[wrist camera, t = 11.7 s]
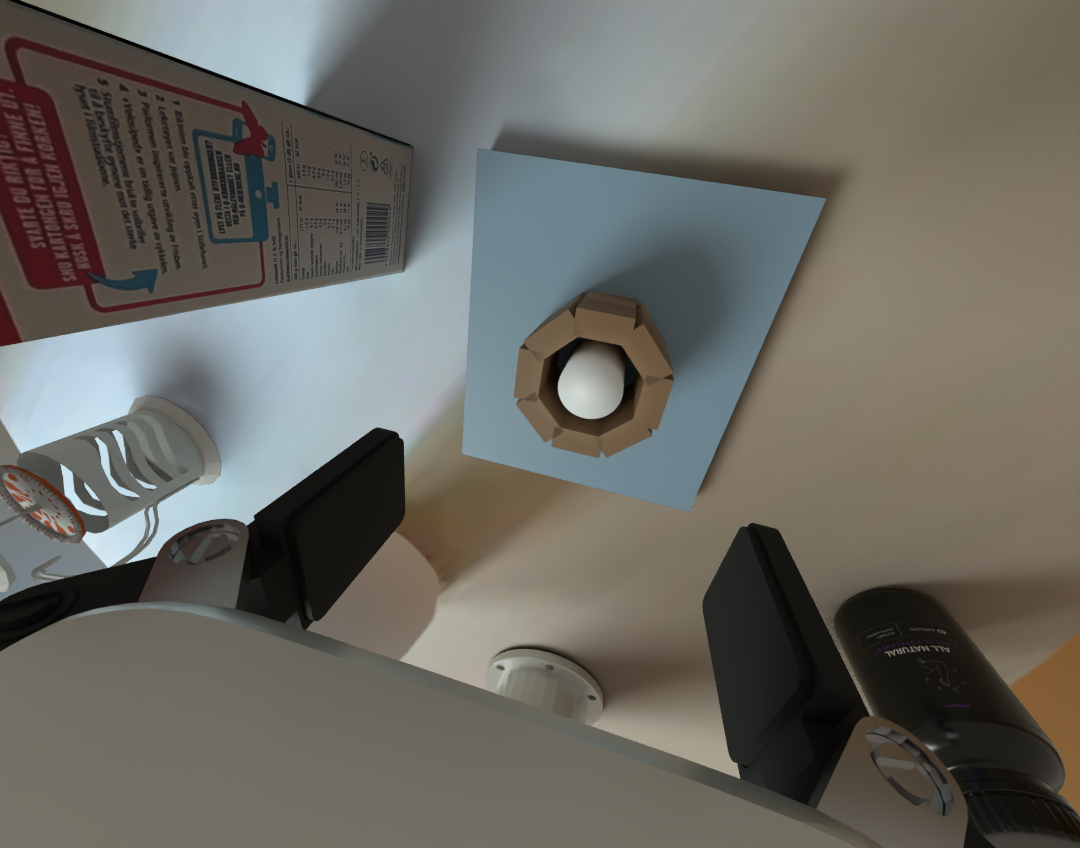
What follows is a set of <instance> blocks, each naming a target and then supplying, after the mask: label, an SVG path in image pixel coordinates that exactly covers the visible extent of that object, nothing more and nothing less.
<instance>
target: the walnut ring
mask: <svg viewBox="0 0 1080 848" xmlns="http://www.w3.org/2000/svg"><path fill="white" fill-rule="evenodd" d="M577 337H582V338H587V339H592V340H597V341H602V342H607V343H611V344H616V345H621V346H622V347H623V348H624V350H625V352H626V353H627V355H628V356H629V358H630V359H631V361H632V362H633V364H634V366H635V367H636V369H637V373H636V377H635V380H634V382H632V383H630V384H629V385H627V386H625V387H624V389H623V396H622V399H621V402H620V404H619V405H618V407H617V408H616V409H615V410H614V411H613V412H612V413H610V414H608V415H607V416H604V417H601V418H597V419H586V418H582V417H579V416H576V415H574V414H573V413H571V412H570V411H569V410H568V409H567V408H566V407H565V406H564V405H563V403H562V402H561V399H560V397H559V393H558V382H559V378H560V376H561V374H562V371H561V370H560V368H559V367H558V365H557V362H558V356H559V351H560V348H562V347H563V346H565V345H566V344H568V343H569V342H571V341H572V340H574V339H575V338H577ZM523 342H524V344H523V345H522V346H521V347H520V348H519V354H518V363H517V371H516V380H515V388H514V396H513V397H514V398H519V400H518V401H517V403H516V406H517V407H518V408H519V409H520V411H521V412H522V413H523V415H524V416H525V417H526V419H527V420H528V421H529V423H530V424H531V425H532V427H533V428H534V429H535V431H536V432H537V433H538V434H539V436H540V437H541V438H542V440H543V441H544V442H547V441H549V440H551V439H552V443H551V447H554V448H558V449H562V450H567V451H571V452H575V453H579V454H583V455H587V456H591V457H595V458H600V454H601V451H602V452H603V453H604V455H605V456H606V458H607V457H609V456H612V455H614V454H616V453H618V452H620V451H622V450H624V449H626V448H628V447H630V446H632V445H634V444H637V443H639V442H641V441H643V440H645V439H647V438H649V437H651V436H652V429H654V430H658V427H659V424H660V421H661V418H662V415H663V412H664V410H665V407H666V404H667V401H668V398H669V395H670V392H671V389H672V386H673V383H674V378H673V374H672V373H673V370H672V365H671V361H670V357H669V353H668V349H667V345H666V342H665V340H664V339H663V337H662V335H661V334H660V332H659V330H658V329H657V327H656V325H655V324H654V322H653V321H652V319H651V317H650V316H649V314H648V312H647V311H646V309H645V307H644V306H643V304H640V305H639V306H637V307H636V299H632V298H627V297H621V296H616V295H611V294H605V293H600V292H595V291H589V292H588V293H587V295H586V296H585V295H584V293H583V292H582V293H581V294H580V295H578V296H577V297H575V298H574V299H573V300H571V301H570V302H569V303H567V304H566V305H564V306H563V307H562V308H560V309H559V310H557V311H556V312H555V313H553V314H552V315H551V316H549V317H548V318H546V319H545V320H544V321H543V322H542V323H541V324H540V325H539V326H538V327H537V328H536V329H535V330H534V331H533V332H532V333H531V334H530V335H529V336H528V337H527V338H526V339H525V340H524V341H523Z"/></svg>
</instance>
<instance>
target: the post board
mask: <svg viewBox="0 0 1080 848" xmlns="http://www.w3.org/2000/svg"><path fill="white" fill-rule="evenodd" d="M825 201H826V198H819V197H812V196H805V195H798V194H791V193H785V192H778V191H771V190H764V189H757V188H750V187H743V186H736V185H729V184H722V183H715V182H708V181H701V180H694V179H687V178H680V177H673V176H666V175H659V174H652V173H646V172H639V171H632V170H625V169H618V168H611V167H604V166H597V165H590V164H583V163H576V162H569V161H562V160H555V159H548V158H541V157H534V156H527V155H520V154H514V153H507V152H500V151H493V150H486V149H479V148H478V156H477V175H476V195H475V214H474V234H473V253H472V273H471V292H470V312H469V331H468V351H467V370H466V389H465V409H464V428H463V448H462V454H465V455H469V456H473V457H477V458H481V459H485V460H489V461H493V462H497V463H500V464H504V465H508V466H512V467H516V468H520V469H524V470H528V471H532V472H536V473H540V474H543V475H547V476H551V477H555V478H559V479H563V480H567V481H571V482H575V483H579V484H582V485H586V486H590V487H594V488H598V489H602V490H606V491H610V492H614V493H618V494H622V495H625V496H629V497H633V498H637V499H641V500H645V501H649V502H653V503H657V504H661V505H665V506H668V507H672V508H676V509H680V510H684V511H688V512H689V511H690V508H691V506H692V504H693V502H694V499H695V497H696V495H697V492H698V490H699V488H700V486H701V483H702V481H703V479H704V477H705V474H706V472H707V470H708V467H709V465H710V463H711V461H712V458H713V456H714V454H715V452H716V449H717V447H718V445H719V442H720V440H721V438H722V436H723V433H724V431H725V429H726V426H727V424H728V422H729V420H730V417H731V415H732V413H733V411H734V408H735V406H736V404H737V401H738V399H739V397H740V395H741V392H742V390H743V388H744V386H745V383H746V381H747V379H748V376H749V374H750V372H751V370H752V367H753V365H754V363H755V360H756V358H757V356H758V354H759V351H760V349H761V347H762V345H763V342H764V340H765V338H766V335H767V333H768V331H769V329H770V326H771V324H772V322H773V320H774V317H775V315H776V313H777V310H778V308H779V306H780V304H781V301H782V299H783V297H784V294H785V292H786V290H787V288H788V285H789V283H790V281H791V279H792V276H793V274H794V272H795V269H796V267H797V265H798V263H799V260H800V258H801V256H802V253H803V251H804V249H805V247H806V244H807V242H808V240H809V238H810V235H811V233H812V231H813V228H814V226H815V224H816V222H817V219H818V217H819V215H820V213H821V210H822V208H823V206H824V203H825ZM589 291H595V292H600V293H605V294H611V295H616V296H621V297H627V298H632V299H636V307H637V306H639V305H640V304H643V306H644V307H645V309H646V311H647V312H648V314H649V316H650V317H651V319H652V321H653V322H654V324H655V325H656V327H657V329H658V330H659V332H660V334H661V335H662V337H663V339H664V340H665V342H666V345H667V349H668V353H669V357H670V361H671V365H672V370H673V373H672V374H673V378H674V383H673V386H672V389H671V392H670V395H669V398H668V401H667V404H666V407H665V410H664V412H663V415H662V418H661V421H660V424H659V427H658V430H654V429H652V436H651V437H649V438H647V439H645V440H643V441H641V442H639V443H637V444H634V445H632V446H630V447H628V448H626V449H624V450H622V451H620V452H618V453H616V454H614V455H612V456H609V457H607V458H606V456H605V455H604V453H603V452H602V451H601V454H600V458H595V457H591V456H587V455H583V454H579V453H575V452H571V451H567V450H562V449H558V448H554V447H551V443H552V439H551V440H549V441H547V442H544V441H543V440H542V438H541V437H540V436H539V434H538V433H537V432H536V431H535V429H534V428H533V427H532V425H531V424H530V423H529V421H528V420H527V419H526V417H525V416H524V415H523V413H522V412H521V411H520V409H519V408H518V407H517V406H516V403H517V401H518V400H519V398H514V397H513V396H514V388H515V380H516V371H517V363H518V354H519V348H520V347H521V346H522V345H523V344H524V342H523V341H524V340H525V339H526V338H527V337H528V336H529V335H530V334H531V333H532V332H533V331H534V330H535V329H536V328H537V327H538V326H539V325H540V324H541V323H542V322H543V321H544V320H545V319H546V318H548V317H549V316H551V315H552V314H553V313H555V312H556V311H557V310H559V309H560V308H562V307H563V306H564V305H566V304H567V303H569V302H570V301H571V300H573V299H574V298H575V297H577V296H578V295H580V294H581V293H582V292H583V293H584V295H585V296H586V295H587V293H588V292H589ZM557 365H558V367H559V368H560V370H561V371H562V374H561V376H560V378H559V382H558V393H559V397H560V399H561V402H562V403H563V405H564V406H565V407H566V408H567V409H568V410H569V411H570V412H571V413H573V414H574V415H576V416H579V417H582V418H586V419H597V418H601V417H604V416H607V415H608V414H610V413H612V412H613V411H614V410H615V409H616V408H617V407H618V405H619V404H620V402H621V399H622V396H623V389H624V387H625V386H627V385H629V384H630V383H632V382H634V380H635V377H636V373H637V369H636V367H635V366H634V364H633V362H632V361H631V359H630V358H629V356H628V355H627V353H626V352H625V350H624V348H623V347H622V346H621V345H616V344H611V343H607V342H602V341H597V340H592V339H587V338H582V337H577V338H575V339H574V340H572V341H571V342H569V343H568V344H566V345H565V346H563V347H562V348H560V351H559V356H558V362H557Z"/></svg>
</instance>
